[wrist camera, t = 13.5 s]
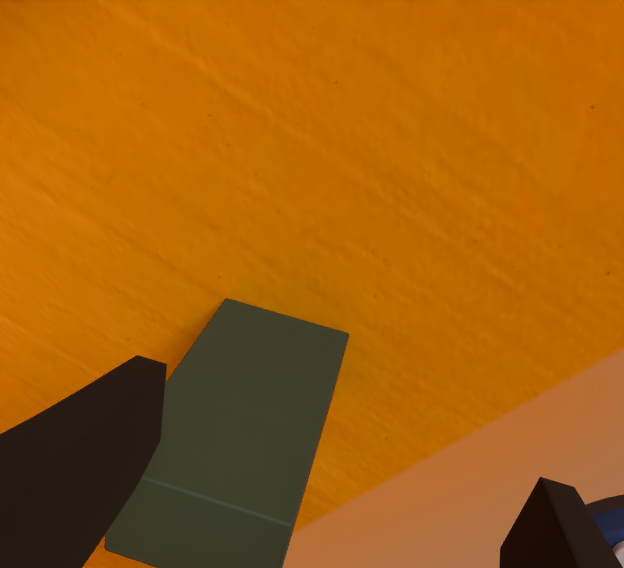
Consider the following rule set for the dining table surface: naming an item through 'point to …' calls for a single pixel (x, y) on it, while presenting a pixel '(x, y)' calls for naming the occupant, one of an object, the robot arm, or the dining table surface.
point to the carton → (233, 444)
